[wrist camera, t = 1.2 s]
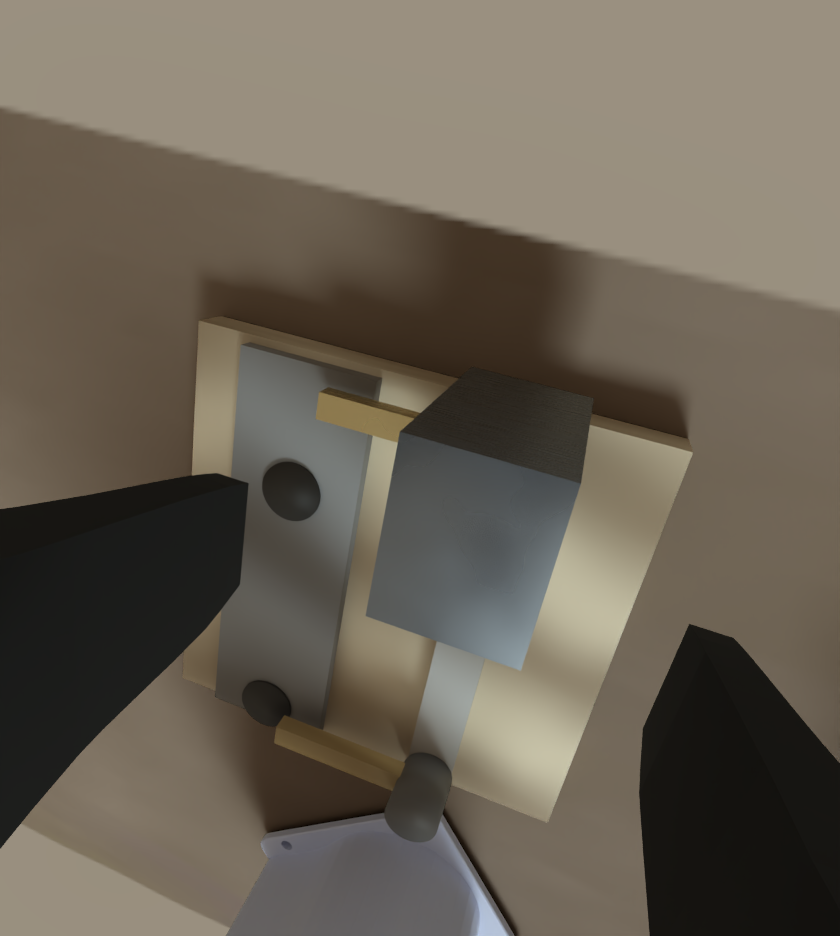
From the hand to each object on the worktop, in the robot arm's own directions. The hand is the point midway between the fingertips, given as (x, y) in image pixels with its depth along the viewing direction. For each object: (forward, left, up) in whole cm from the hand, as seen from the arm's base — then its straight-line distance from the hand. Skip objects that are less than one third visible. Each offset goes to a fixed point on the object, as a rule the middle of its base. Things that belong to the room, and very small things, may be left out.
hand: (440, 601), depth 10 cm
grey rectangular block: (-1, +1, -8) cm, 8 cm away
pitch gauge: (-6, -3, -10) cm, 12 cm away
